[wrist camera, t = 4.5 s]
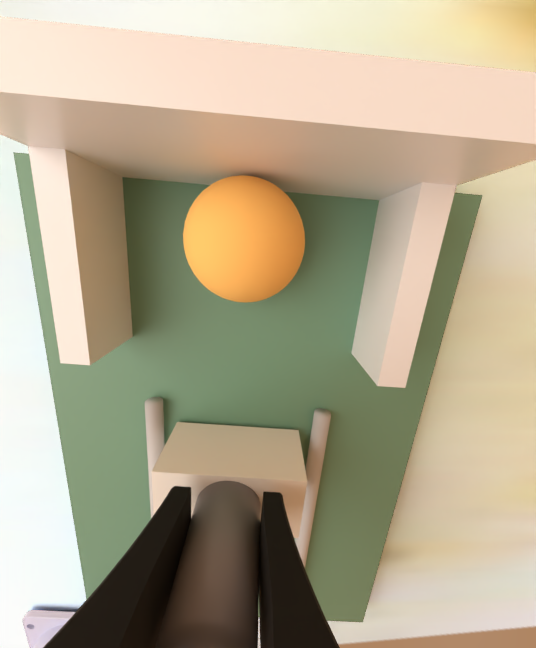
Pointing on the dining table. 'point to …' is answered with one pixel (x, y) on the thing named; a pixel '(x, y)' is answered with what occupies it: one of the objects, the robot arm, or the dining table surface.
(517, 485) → the dining table surface
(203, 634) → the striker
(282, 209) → the ball
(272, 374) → the pitch
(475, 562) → the dining table surface
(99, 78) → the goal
